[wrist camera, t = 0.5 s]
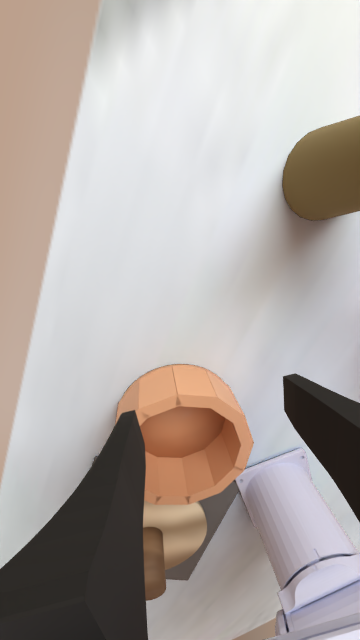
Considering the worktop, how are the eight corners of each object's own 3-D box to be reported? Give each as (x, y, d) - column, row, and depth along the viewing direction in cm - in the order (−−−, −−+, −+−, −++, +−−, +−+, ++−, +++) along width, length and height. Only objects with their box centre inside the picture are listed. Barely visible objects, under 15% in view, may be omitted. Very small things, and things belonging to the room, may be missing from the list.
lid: (219, 540, 31) (233, 599, 26) (117, 579, 31) (113, 645, 26) (183, 468, 26) (192, 523, 22) (63, 514, 26) (45, 579, 22)
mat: (241, 480, 29) (242, 483, 28) (187, 576, 33) (187, 580, 33) (95, 456, 25) (94, 459, 25) (57, 568, 30) (56, 572, 29)
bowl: (245, 436, 27) (264, 475, 22) (144, 474, 27) (144, 521, 22) (214, 346, 23) (230, 373, 18) (96, 391, 23) (85, 429, 18)
